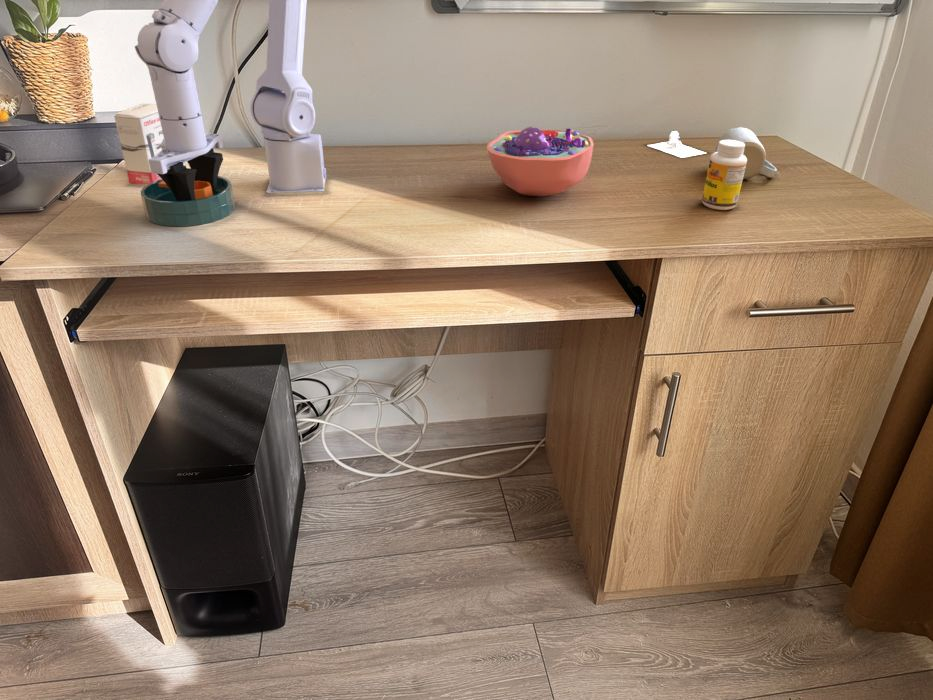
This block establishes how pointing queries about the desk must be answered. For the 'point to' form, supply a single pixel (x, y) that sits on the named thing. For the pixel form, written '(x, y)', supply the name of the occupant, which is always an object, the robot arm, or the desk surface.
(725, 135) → the ceramic mug
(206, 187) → the scoop
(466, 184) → the desk surface
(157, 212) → the bowl
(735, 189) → the supplement bottle
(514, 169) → the cell model
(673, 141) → the adhesive hook
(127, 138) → the ink box
